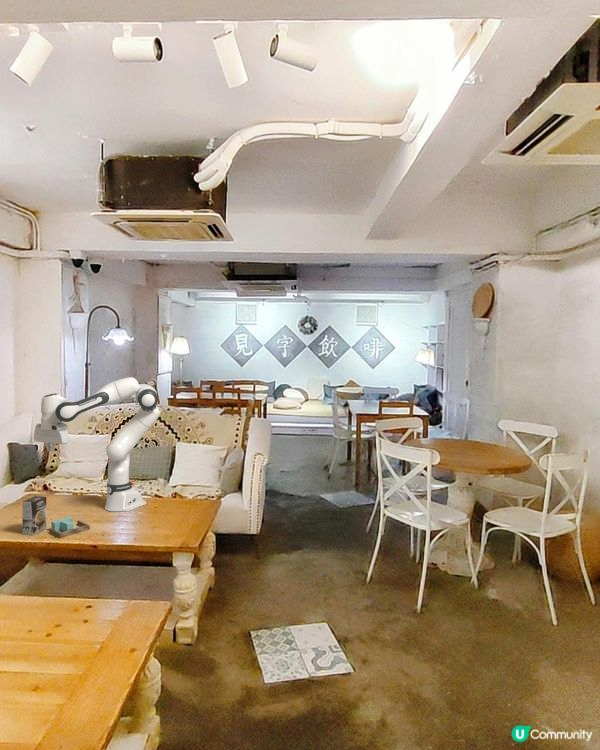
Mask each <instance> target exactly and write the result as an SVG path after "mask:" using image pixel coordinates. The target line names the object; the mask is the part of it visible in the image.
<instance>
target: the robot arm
mask: <svg viewBox="0 0 600 750" xmlns="http://www.w3.org/2000/svg"><path fill="white" fill-rule="evenodd" d="M130 398H134V399H136V401H137V403H138V405H139V406H140V408H139V410H138V411H137V412H136V413H135V415H134V416H133V417H132V418H131V419H130V420H129V421H128V422H127V423H126V424H125V425H124V426H123V428H122V429H120V431H119V432H118V433H117V434H116V436H115V437H113V438H112V439H111V441H110V442H109V443H108V444H107V446H106V449H105V450H106V455H107V457H108V466H107V483H106V493H107V494H106V502H105V506H104V510H105V511H109V512H129V511H132V510H135V509H137V508H140V507H142V506H145V505H147V501H146V500H144V499H143V497H142V496H143V494H141V492H140V491H138V489H136V488H134V486H135V485H136V481H130V463H131V462H130V461H131V460H130V459H131V457H130V456H131V450H133V448H135V446H136V445H137V444H138V443H139V442H140V440H141V439H142V438H143V437H144V436H145V435H146V434H147V432H149V430H150V429H151V428H152V427H153V426H154V425H155V424H156V422H157V420H158V419H159V417H160V415H161V410H160V407H158V406H157V405H158V400H159V397H158V393H157V390H156V389H155V387H153V385H152V384H149V383H147V382H146V383H143V382H138V380H137V378H135V377H134V376H133V377H132V376H129V377H124V378H120V379H116V380H114V381H111V382H109V383H107V384H106V385H104V386H102V387H100V389H99V390H97V392H95V393H94V394H92V395H90V396H88V397H85V398H82V399H79V400H77V401H76V400H74V399H69V398H66V397H63V396H62V395H60V394H58V393H50V394H45V395H44V396H42V398H41V402H40V403H41V404H40V412H41V417H40V423H37V424H36V425H35V429H34V432H33V440H34V442H38V443H45V444H44V445H45V447H46V450H47V452H54V451H55V447H56V445H67V444H68V442H69V433H68V432H69V431H68V430H67V429H68V427H69V426H68V424H66V423H70V422H72V421H73V420H75V419H76V418H77V417H78V416H79V415H80V414H82V413H85V412H87V411H89V410H92V409H94V408H98V407H100V406H105V405H110V404H115V403H117V402H121V401H123V400H126V399H130Z"/></svg>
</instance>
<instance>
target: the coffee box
mask: <svg viewBox="0 0 600 750" xmlns="http://www.w3.org/2000/svg"><path fill="white" fill-rule="evenodd" d="M21 502H22V507H21V508H22V509H21V510H22V517H21V518H22V528H21V530H22V531H21V533H22V535H27V536H35V535H37V534H39V533H41V532H43V531H45V530H47V496H40V495H39V496H38V495H35V496H32V497H30V498H27V499H25V500H22V501H21Z"/></svg>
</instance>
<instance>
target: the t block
mask: <svg viewBox="0 0 600 750" xmlns="http://www.w3.org/2000/svg"><path fill="white" fill-rule="evenodd" d="M50 523H51V528H52V529H54V530H56V531H58V532H64V531H68V530H71V529H74V519H73V517H71V516H68V517H64V518H60V519H57V520H53V521H51V522H50ZM51 528H50V529H51Z"/></svg>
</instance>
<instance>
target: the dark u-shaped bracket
mask: <svg viewBox="0 0 600 750" xmlns="http://www.w3.org/2000/svg"><path fill="white" fill-rule="evenodd" d="M76 524H77V526H78V527H75V528H74V527H73V529H71V530H68V531H64V532H63V531H56V530H54V529H52V528H49V529H48V531H49V534H51V535H52V536H54V537H56V538H58V539H62V538H65V537H70V536H72V535H76V534H78V533H79V534H80V533H81V532H85V531H88V530H91V525H90V524H88V523H85V522H83V521H81V520H77V521H76Z"/></svg>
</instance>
